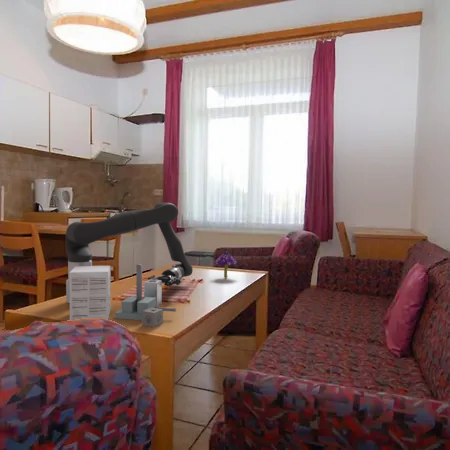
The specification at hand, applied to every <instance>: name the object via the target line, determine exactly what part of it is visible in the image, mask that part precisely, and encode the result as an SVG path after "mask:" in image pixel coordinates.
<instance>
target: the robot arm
mask: <svg viewBox="0 0 450 450" xmlns="http://www.w3.org/2000/svg"><path fill="white" fill-rule="evenodd" d="M178 215H179V209H178V207H177V206H176V205H175V204H173V203H171V202H158V203H157V204H155V205H154V206H153V208H150V209H147V208H146V209H134V210H133V209H132V210H128V211H124V212H119V213H116V214H114V215H111V216H110V217H108V218H106V219H103V220H99V221H91V222H83V221H74V222H72V223H70V224H69V225H68V226H67V228H66V231H65V232H66V233H65V249H66V250H65V251H66V255H67V258H68V259H67V263H68V264H67V265H68V266H67V267H68V269H67V271H68V272H67V273H68V275H67V276H68V279H67V278H66V281H65V285H66V287H65V290H66V291H65V292H66V293H65V298H66V301H65V303H66V304H67V303H68V304H70V287H69V272H70V271H71V270H72V269H73V268H74V267H75V266H93V254H92V252H91V250H90V248H89V244H92V243H94V242H97V241H100V240H102V239H104V238H108V237H114V236H119V235H122V234H127V233H132V232H135V231H138V230H141V229H145V228H147V227H150V226H153V225H158V228H159V229H160V232H161V235H162V236H163V238H164V240H165V244H166V246H167V249H168V253H169V256H170V258H171V260H172V261H173V262H179V263H176V264H173V265H172V266H171V267H169V268H167V269H165V270H164V271H162V273H161V275H151V276H149V277H147V280H162V285H164V286H166V287H172V286H174V285H176V286H180V285H181V283H182V282H183V281H182V280H183V278H184V277H189V276H191V275H192V274H193V266H192V263H191V261H189V259H188V258H187V255H186V254H185V251H184V247H183V244H182V241H181V240H180V238H179V236H178V235H177V234H176V231H175V230H174V228H173V227H172V224H171V222H173V221H174V220H176V219H177V217H178Z"/></svg>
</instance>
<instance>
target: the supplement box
mask: <svg viewBox="0 0 450 450" xmlns="http://www.w3.org/2000/svg"><path fill="white" fill-rule="evenodd" d="M111 276H112V275H111V265H92V266H75V267H74V268H73V269H72V270H71V271H70V272H69V287H70V303H69V321H70V320H75V319H82V318H105V319H108V320H109V317H110V313H111V307H112V305H111V303H112V302H111V299H112V298H111V297H112V296H111V294H112V293H111V284H112V283H111V279H112V278H111Z"/></svg>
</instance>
